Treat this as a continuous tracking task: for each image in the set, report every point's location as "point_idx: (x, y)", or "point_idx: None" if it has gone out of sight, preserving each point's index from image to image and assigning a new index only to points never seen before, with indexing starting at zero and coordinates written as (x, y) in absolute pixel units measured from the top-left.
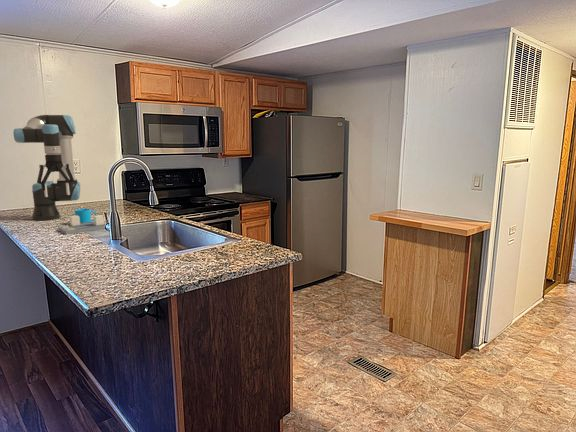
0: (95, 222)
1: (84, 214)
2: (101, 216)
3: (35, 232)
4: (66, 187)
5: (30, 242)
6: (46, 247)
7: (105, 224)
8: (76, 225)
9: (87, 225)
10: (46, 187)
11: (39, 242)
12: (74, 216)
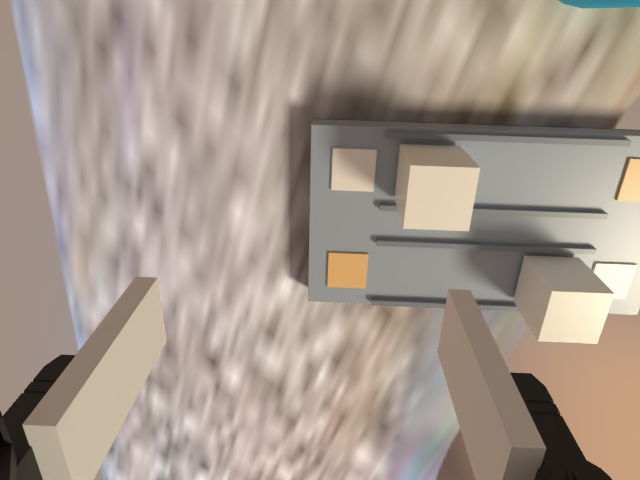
0: (524, 297)
1: (630, 4)
2: (582, 341)
3: (162, 61)
4: (475, 387)
5: None
6: (164, 456)
7: None
8: None
9: (479, 247)
10: (101, 453)
11: None
12: (438, 204)
